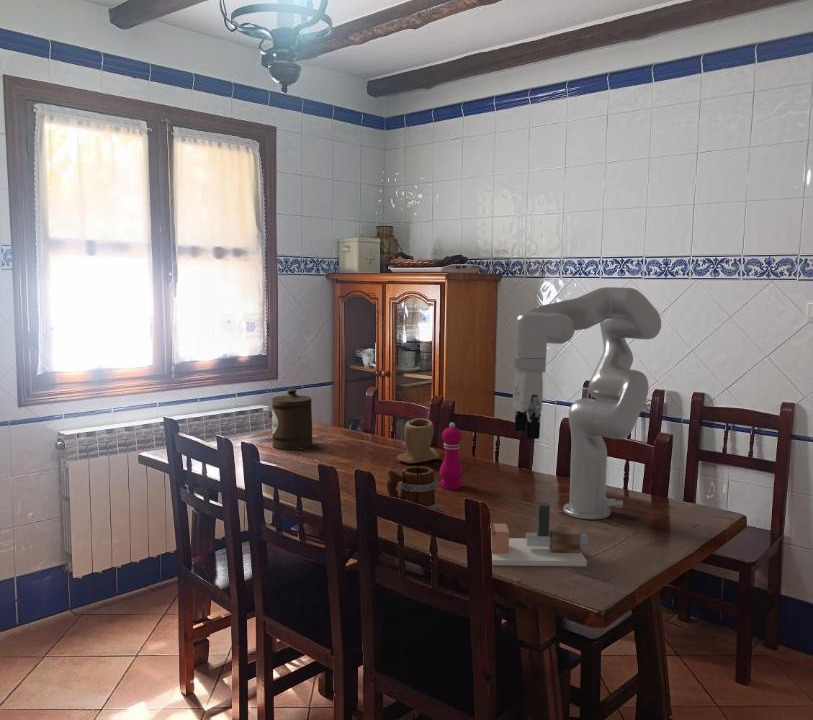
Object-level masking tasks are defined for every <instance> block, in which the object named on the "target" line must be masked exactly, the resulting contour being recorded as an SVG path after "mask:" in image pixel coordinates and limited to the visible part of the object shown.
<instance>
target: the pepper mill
mask: <svg viewBox="0 0 813 720" xmlns="http://www.w3.org/2000/svg"><path fill="white" fill-rule="evenodd" d="M441 434H442V435H441V437H442V440H443V441H444V443H443V448H444V451H445V453H444V458H443V461H442V463H441V465H440V468H439V476H440V477H441V480H440V486H441V487H440V488H444V489H447V490H458V489H460V488H461V487H462V480H461V479H462V478H463V475H464V468H463V465H462V463H461V461H460V458H459V449H460V448H461V443H460V442H461V441H462V438H463V434H462V431H461V430H460V429H459V428H457V427H456V424H455V422H450V423H449V425H448V427H447V428H445V429H443V432H442V433H441Z"/></svg>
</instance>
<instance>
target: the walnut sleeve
mask: <svg viewBox="0 0 813 720" xmlns="http://www.w3.org/2000/svg"><path fill="white" fill-rule="evenodd" d="M549 533H550V534H551V536H552V537H551V547H549V549H550V551H551V553H580V551H581V547H580V536H581V534H580V533H581V532H580V531H579V529H578V528H577V527H576V526H575V527H574V526H549Z"/></svg>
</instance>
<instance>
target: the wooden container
mask: <svg viewBox="0 0 813 720" xmlns="http://www.w3.org/2000/svg"><path fill="white" fill-rule="evenodd" d="M271 400H272V401H271V404H272V405H271V407H272V410H271V411H272V412H271V413H272V416H271V417H272V419H271V420H272V422H271V423H272V427H271V428H272V429H271V430H272V431H271V432H272V447H273V446H274V447H273V448H275V447H276V448H275V449H278V448H280V449H279V450H284V449H297V450H301V449H300V448H304V449H308V448H310V447H312V446H313V419H312V417H313V415H312V414H313V413H312V412H313V411H312V397H311V396H307V395H302V394H300V395H298V394H297V389H296V388H295V387H289V388H288V389H287V394H285V395H278V396H274V397H272V399H271ZM311 445H312V446H311ZM307 447H308V448H307Z"/></svg>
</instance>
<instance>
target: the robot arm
mask: <svg viewBox="0 0 813 720" xmlns="http://www.w3.org/2000/svg"><path fill="white" fill-rule="evenodd" d="M515 323H516V324H515V342H514V365H513V367H514V368H513V371H515V372H514V373H515V375H514V379H513V380H514V381H513V389H512V390H513V393H512V407H513V408H514V409H515V410H514V414H515V416H514V431H516V432H517V431H518V432H525V438H526V439H527V440H538V439H540V434H541V433H540V431H541V430H540V429H541V416H542V415H541V412H542V409H543V408H542V407H543V394H544V393H543V386H544V385H543V384H544V383H543V373H546V369H547V368H546V366H547V365H546V364H547V350H548V349H547V347H548V346H547V345H548V344H552V345H553V344H554V345H561V344H565V343H567V342H569V341H570V340H571V339H572V338H573V336H574V334H575V332H576V331H582V330H587V329H590V328H592V327H594V326H596V325H598V324H600V325H599V326H600V327H599V328H600V333H601V336H602V343H603V351H602V354H601V357H600V358H599V361H598V363H597V364H596V367H595V369H594V371H593V373H592V376H591V378H590V381H589V382H588V394H590V396H591V397H592V398H580V399H577V400H574V402H573V403H572V404H571V405H570V408H569V411H568V423H569V428H570V429H569V430H570V436H571V437H570V438H571V440H570V442H571V444H570V446H571V451H570V471H569V472H570V475H569V476H570V477H569V501H568V502H566V504H564V505H563V512H564V513H565V514H566V515H568V516H570V517H573V518H577V519H584V520H602V519H607V518H609V517H610V516H611V509H612V508H618V509H620V508H623V507H624V501H623V500H616V498H608V497H607V496H606V487H607V486H606V485H607V467H608V465H607V462H608V450H607V449H608V448H607V445H606V443H605V440H604V439H603V437H604V438H609V439H614V440H623V439H624V440H625V439H626V438H628V437H629V436H630V434H631V433H632V431H633V430H634V428H635V425H636V423H637V421H638V419H639V416H640V415H641V412H642V410H643V408H644V406H645V403H646V401H647V398H648V393H649V380H648V377H647V376H646V374H645V373H643V372H642V371H639V370H636V369H631V367H632V365H633V361H634V355H633V352H632V350H631V348H630V346H629V345H628V343H627V341H626V339H635V340H651V339H654V338H656V337H657V336H658V335H659V334H660V332H661V328H662V319H661V315H660V314H659V312H658V310H657V309H656V308H655V306H653V304H652V303H651V302H650V300H648V299H647V298H646V296H645V295H644V294H643V293H642V292H641V291H639V290H637V289H635V288H632V287H617V286H616V287H615V286H614V287H613V286H612V287H609V286H608V287H600V288H599V287H598V288H597V289H595V290H594V289H593V290H592V291H590V292H588V293H585V294H583V295H581V296H578V297H575V298H572V299H571V298H570V299H565V300H561V301H558V302H557V301H556V302H552V303H547V304H544V305H539V306H537V307H534V308H532V309H530V310H528V311H526V312H525V313H521V314H519V315H518V316H517V318H516V321H515Z"/></svg>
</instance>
